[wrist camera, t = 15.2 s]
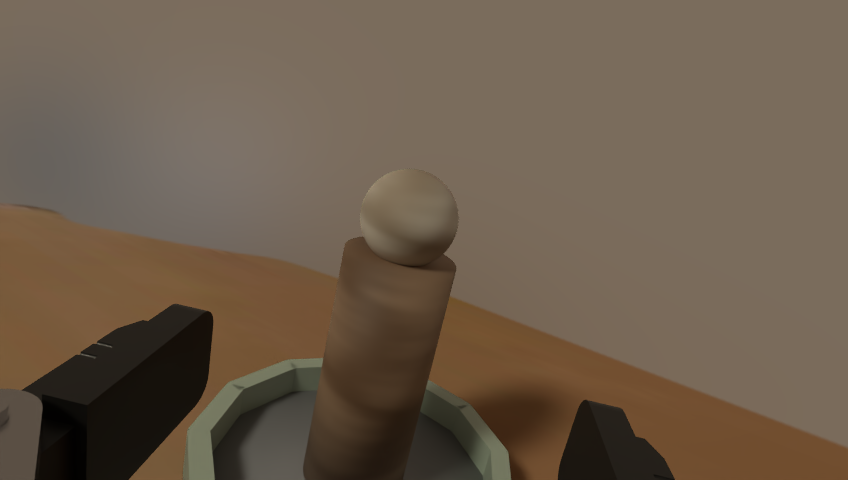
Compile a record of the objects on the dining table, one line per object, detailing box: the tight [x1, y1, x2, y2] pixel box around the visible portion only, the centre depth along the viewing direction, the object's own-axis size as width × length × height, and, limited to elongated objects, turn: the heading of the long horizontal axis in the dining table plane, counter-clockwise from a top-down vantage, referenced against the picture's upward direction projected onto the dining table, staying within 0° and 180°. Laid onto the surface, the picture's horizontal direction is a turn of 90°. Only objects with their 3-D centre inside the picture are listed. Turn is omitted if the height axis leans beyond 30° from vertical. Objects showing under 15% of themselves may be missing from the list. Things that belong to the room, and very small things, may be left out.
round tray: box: [183, 358, 511, 480], centre depth 27 cm, size 16×16×2 cm
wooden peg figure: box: [303, 169, 458, 480], centre depth 25 cm, size 5×5×16 cm
